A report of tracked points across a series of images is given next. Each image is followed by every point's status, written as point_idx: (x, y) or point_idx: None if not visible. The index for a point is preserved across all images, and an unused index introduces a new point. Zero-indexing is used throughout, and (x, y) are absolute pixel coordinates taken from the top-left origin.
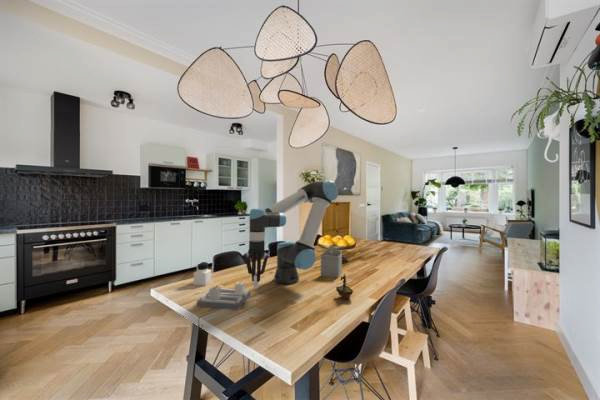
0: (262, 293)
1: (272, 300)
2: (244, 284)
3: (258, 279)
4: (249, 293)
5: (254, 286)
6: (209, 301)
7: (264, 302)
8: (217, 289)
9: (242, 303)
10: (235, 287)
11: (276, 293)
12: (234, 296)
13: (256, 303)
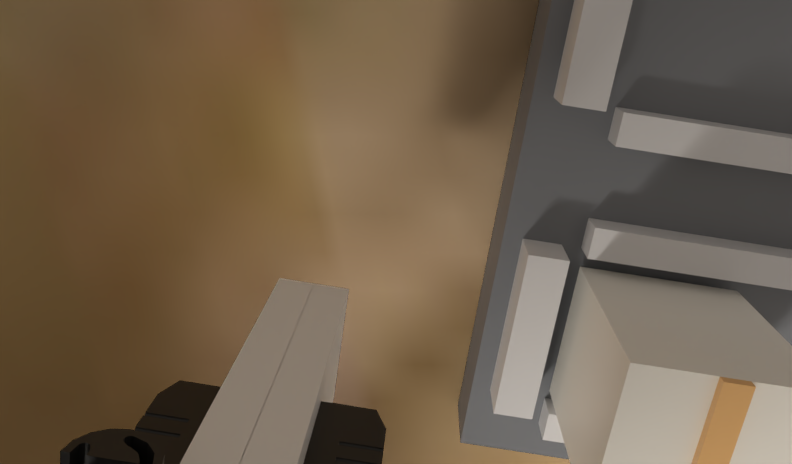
0: None
1: (46, 202)
2: (590, 451)
3: (171, 420)
4: (468, 387)
5: (319, 311)
6: None
7: (162, 125)
8: None
9: (534, 38)
10: (784, 354)
11: (48, 456)
12: (731, 148)
13: (291, 85)
